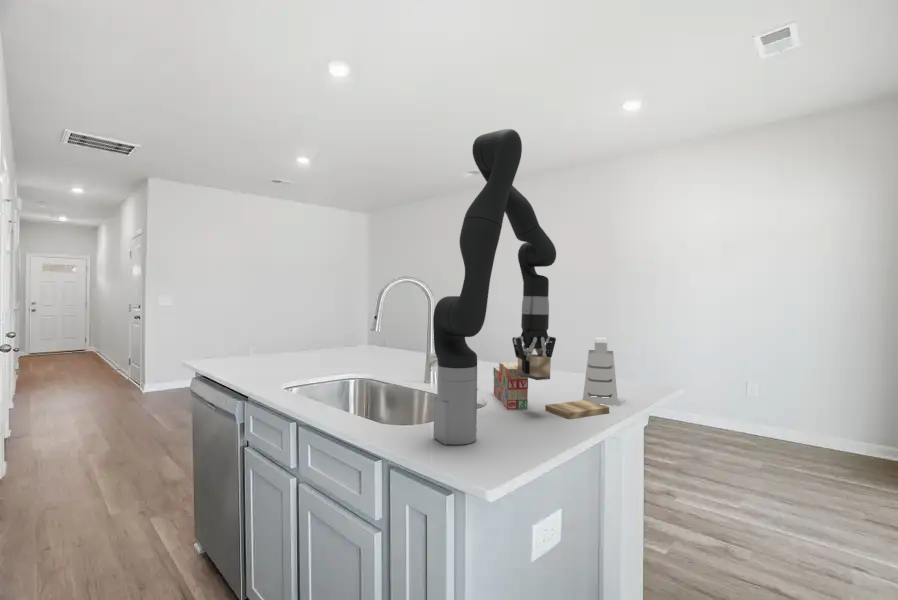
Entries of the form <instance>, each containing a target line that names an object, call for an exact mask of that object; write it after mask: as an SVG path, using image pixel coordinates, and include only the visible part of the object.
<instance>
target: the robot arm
mask: <svg viewBox="0 0 898 600" xmlns="http://www.w3.org/2000/svg"><path fill="white" fill-rule="evenodd" d="M522 151H523V144H522V139H521V136H520V134H519V132H517V131H516V130H515V129H512V128H505V129H500V130H496V131H491V132H488V133H484V134H481V135H479V136H477V137H476V138H475V139H474V141H473V144H472V157H473V159H474V162H475V165H476V167H477V169H478V170H479V172H480V173H481V175H482V177H483V178H484V180H485V181H486V184H485V185H484V187H483V188H481V191H480V192H479V193H478V194H477V195H476V197H475V198H474V200H473V201H472V202H471V203H470V205H469V207H468V208H467V210H466V212H465V215H464V218H463V221H462V225H461V229H460V235H459V248H460V253H461V257H462V261H463V265H464V279H463V283H462V287H461V292H460V294H459V295H458V296H457V295H451V296H450V295H449V296H445V297H442V298H440V300H438V301H437V303H436V305H435V307H434V310H433V311H434V312H433V316H432V317H433V318H432V319H433V320H432V325H433V326H432V327H433V329H432V330H433V348H434V352H435V353H434V354H435V356H436V359H437V384H436V385H437V389H436V390H437V394H436V396H435V397H434V398H433V438H434V439H436V440H437V441H438V442H440V443H442V444H443V445H444V446H448V445H456V446H457V445H468V444H472V443H474V442H476V440H477V431H478V429H477V424H478V423H477V422H478V418H477V416H478V412H477V411H478V409H477V408H478V354H477V353H476V352H475V351H474V350H473V349H471V348H470V346H469V345H468V344H467V342H466V338H472V337H475V336H477V335H478V334H479V333H480V331H481V330H482V328H483V326H484V323H485V320H486V316H487V315H486V314H487V310H488V300H489V292H490V291H489V290H490V283H491V277H492V272H493V268H494V264H495V263H494V262H495V256H496V253H497V248H498V245H499V241H500V236H501V233H502V232H501V231H502V227H503V223H504V216H505V215H506V217H507V219H508V221H509V224H510V226H511V229H512V232H513V233H514V236H515V238H516V239H517V240H518V241H520V242H523V243H522V244H521V245H520V247H519V249H518V251H517V261H518V264H519V269H520V273H521V276H522V282H523V285H522V286H523V288H522V289H523V291H522V300H521V301H522V303H521V325H520V327H521V334H520V336H516V337H515V336H513V337H511V338H512V345H513V349H514V354H515V357H516V358H517V359H518V358H520V359H521V360H522V372H523V373H524V374H529V370H530V361H529V360H530V356H531V354H534V351H535V352H536V353H537V354H536V355H541V356H546V357H551V358H552V356H553V353H554V349H555V345H556V341H557V339H556V337H554V336H549V335H548V330H549V319H550V317H549V315H550V301H549V290H550V289H549V284H550V281H549V278H548V277H547V276H546V275H541V274H538V273H537V272H536V268H541V267H542V268H543V267H544V268H545V267H549V266H552V265H553V264H554V263H555V262H556V258H557V249H556V247H555V244H554V243H553V241H552V239H551V238H550V237H549V236H548V234H547V233H546V232H545V231H544V229H543V228H542V227H541V225H540V224H539V221H538V217H537V215H536V213H535V211H534V208H533V207H532V204H531V202H530V201H529V200H528V199H527V198H526V197H525V196H524V195H523V194H522V193H521V192H520V191H519V190H518V189H517V188H516V187H515V186H514V185H513V184H514V181H515V177H516V175H517V171H518V170H519V169H518V168H519V167H520V162H521V158H522Z"/></svg>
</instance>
